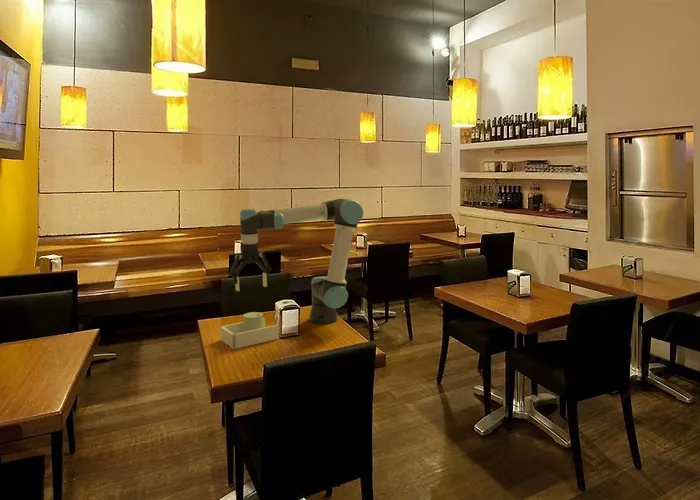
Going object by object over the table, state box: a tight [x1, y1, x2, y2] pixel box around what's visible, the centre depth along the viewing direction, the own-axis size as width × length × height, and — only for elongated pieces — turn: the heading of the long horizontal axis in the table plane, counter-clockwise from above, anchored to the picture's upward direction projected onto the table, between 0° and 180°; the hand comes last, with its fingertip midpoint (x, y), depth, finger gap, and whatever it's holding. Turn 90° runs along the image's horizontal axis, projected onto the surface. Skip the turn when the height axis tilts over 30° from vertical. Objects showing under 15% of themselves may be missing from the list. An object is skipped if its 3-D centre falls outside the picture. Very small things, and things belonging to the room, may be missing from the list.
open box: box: [219, 317, 279, 350], centre depth 217 cm, size 22×15×6 cm
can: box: [242, 311, 264, 332], centre depth 217 cm, size 9×9×12 cm
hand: (251, 288), depth 215 cm, fingers open, 13 cm apart
